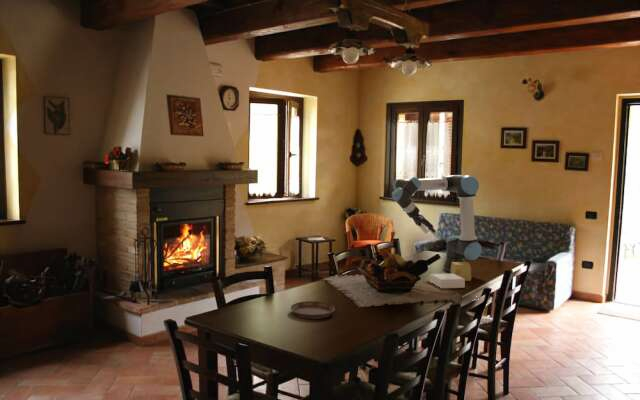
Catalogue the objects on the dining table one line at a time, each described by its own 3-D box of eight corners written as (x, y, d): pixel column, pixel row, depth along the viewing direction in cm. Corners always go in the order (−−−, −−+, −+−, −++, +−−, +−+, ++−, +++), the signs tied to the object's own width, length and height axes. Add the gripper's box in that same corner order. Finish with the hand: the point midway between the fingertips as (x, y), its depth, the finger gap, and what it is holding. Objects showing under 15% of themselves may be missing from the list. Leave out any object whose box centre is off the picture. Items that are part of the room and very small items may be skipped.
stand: (452, 281, 325) (453, 273, 324) (464, 287, 310) (465, 279, 310) (429, 282, 321) (430, 274, 321) (440, 288, 307) (441, 279, 306)
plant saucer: (319, 323, 236) (319, 316, 236) (281, 315, 247) (281, 308, 247) (342, 312, 254) (342, 306, 253) (306, 305, 265) (306, 298, 264)
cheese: (471, 281, 328) (472, 265, 327) (453, 280, 328) (454, 264, 327) (467, 277, 338) (467, 261, 337) (450, 276, 338) (450, 261, 337)
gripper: (398, 211, 336) (419, 235, 341) (415, 216, 312) (437, 241, 317) (407, 203, 337) (427, 227, 342) (424, 207, 313) (445, 232, 318)
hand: (432, 234), depth 330 cm, fingers open, 13 cm apart
